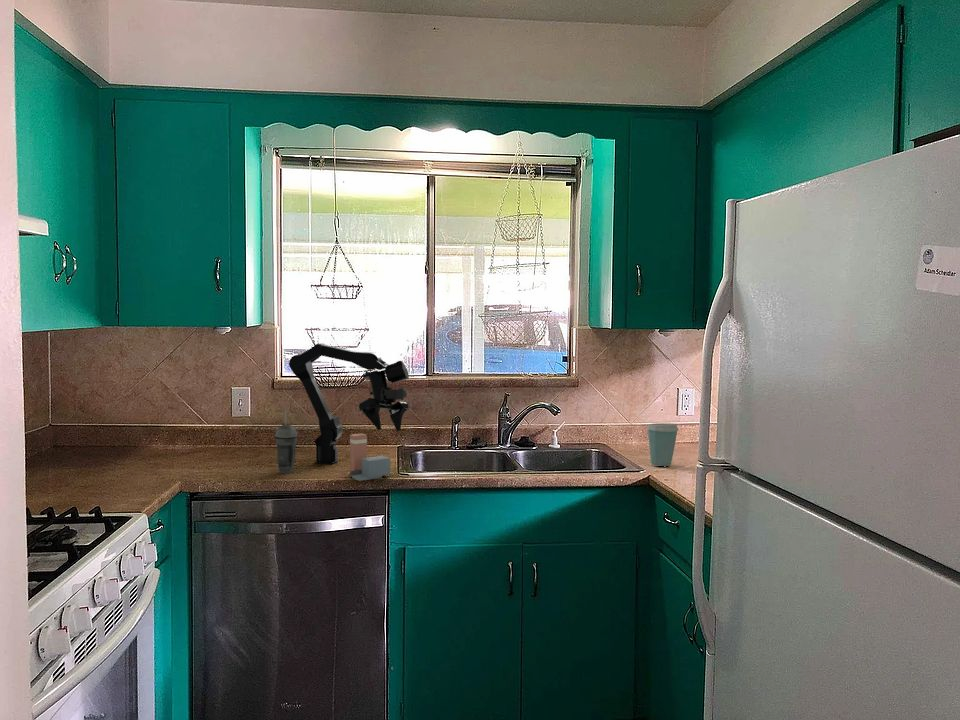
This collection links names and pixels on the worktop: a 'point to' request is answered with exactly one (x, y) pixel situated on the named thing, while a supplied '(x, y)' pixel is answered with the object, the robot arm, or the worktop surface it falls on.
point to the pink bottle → (357, 450)
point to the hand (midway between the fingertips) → (389, 430)
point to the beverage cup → (286, 447)
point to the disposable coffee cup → (662, 442)
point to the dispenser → (372, 468)
